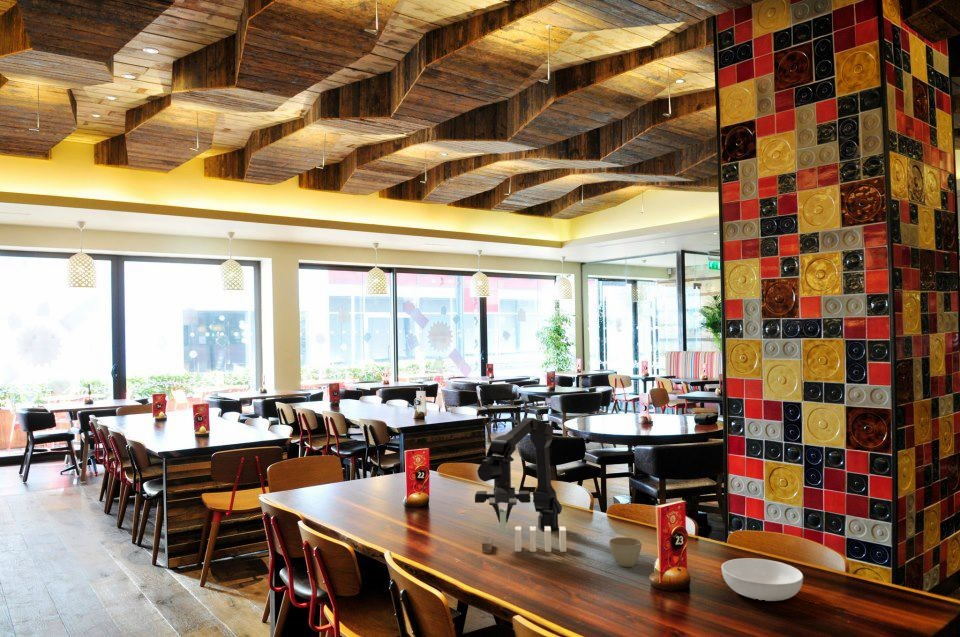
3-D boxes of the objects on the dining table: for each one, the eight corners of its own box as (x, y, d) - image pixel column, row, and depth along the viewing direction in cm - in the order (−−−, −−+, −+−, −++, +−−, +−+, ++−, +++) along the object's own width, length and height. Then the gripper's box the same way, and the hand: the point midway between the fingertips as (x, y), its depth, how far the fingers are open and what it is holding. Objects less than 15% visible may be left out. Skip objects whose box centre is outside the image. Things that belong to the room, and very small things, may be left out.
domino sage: (506, 528, 241) (506, 508, 241) (506, 533, 236) (505, 512, 236) (500, 528, 241) (500, 508, 241) (500, 533, 236) (499, 512, 236)
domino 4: (565, 547, 240) (565, 526, 240) (566, 551, 235) (565, 530, 235) (559, 547, 240) (559, 526, 240) (560, 551, 235) (559, 530, 235)
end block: (492, 545, 243) (492, 536, 243) (491, 552, 235) (491, 543, 235) (483, 545, 243) (483, 536, 243) (482, 552, 235) (482, 543, 235)
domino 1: (521, 546, 241) (521, 526, 241) (521, 551, 236) (520, 530, 236) (515, 546, 241) (515, 526, 241) (515, 551, 236) (514, 530, 236)
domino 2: (536, 547, 241) (535, 526, 241) (536, 551, 236) (535, 530, 236) (530, 546, 241) (529, 526, 241) (530, 551, 236) (529, 530, 236)
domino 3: (550, 547, 240) (550, 526, 240) (551, 551, 235) (550, 530, 235) (544, 547, 240) (544, 526, 241) (545, 551, 235) (544, 530, 236)
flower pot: (643, 560, 224) (643, 538, 225) (640, 571, 215) (639, 547, 215) (612, 558, 228) (611, 535, 228) (607, 567, 218) (607, 544, 218)
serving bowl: (762, 615, 180) (762, 588, 180) (705, 588, 199) (705, 564, 200) (821, 601, 189) (820, 575, 189) (761, 577, 208) (761, 554, 208)
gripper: (473, 481, 232) (474, 529, 232) (530, 481, 231) (531, 529, 230) (475, 474, 243) (476, 519, 243) (529, 474, 242) (530, 519, 242)
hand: (503, 522), depth 239 cm, fingers closed on domino sage, 2 cm apart
